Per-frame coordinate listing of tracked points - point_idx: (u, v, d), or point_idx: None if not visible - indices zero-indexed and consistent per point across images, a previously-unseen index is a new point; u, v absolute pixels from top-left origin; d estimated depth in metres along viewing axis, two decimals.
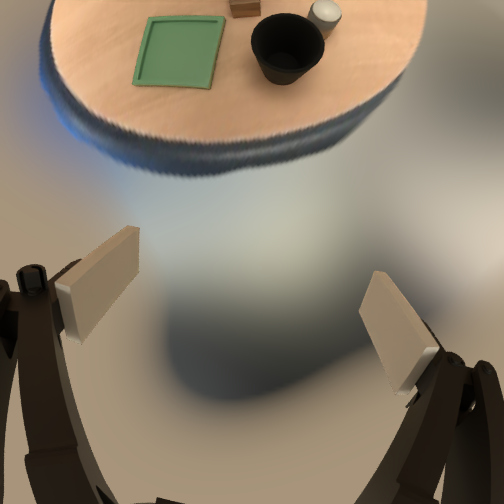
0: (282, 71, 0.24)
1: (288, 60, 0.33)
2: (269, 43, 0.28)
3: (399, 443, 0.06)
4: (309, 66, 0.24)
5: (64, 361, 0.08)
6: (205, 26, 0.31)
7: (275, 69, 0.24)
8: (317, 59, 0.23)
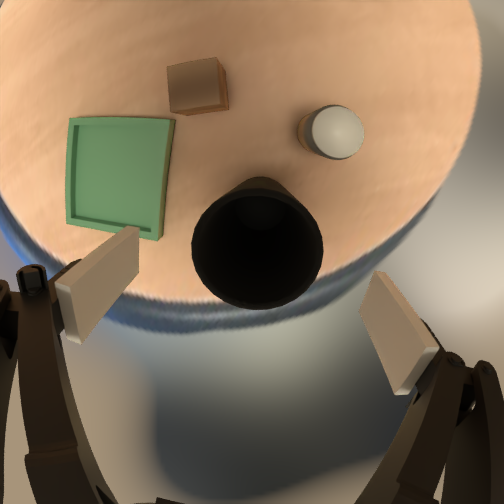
0: (246, 307, 0.18)
1: None
2: None
3: (399, 443, 0.06)
4: (291, 299, 0.17)
5: (64, 361, 0.08)
6: (145, 134, 0.24)
7: (234, 305, 0.18)
8: (306, 286, 0.17)
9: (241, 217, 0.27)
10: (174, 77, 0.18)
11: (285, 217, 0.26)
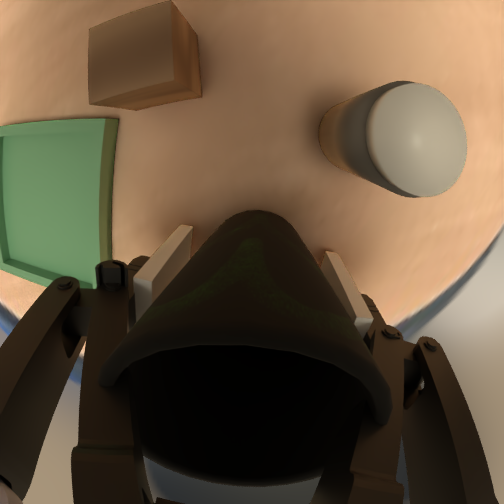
0: (225, 483, 0.07)
1: None
2: None
3: (346, 426, 0.07)
4: (307, 478, 0.07)
5: None
6: (76, 144, 0.14)
7: (205, 480, 0.07)
8: None
9: None
10: (98, 44, 0.08)
11: None
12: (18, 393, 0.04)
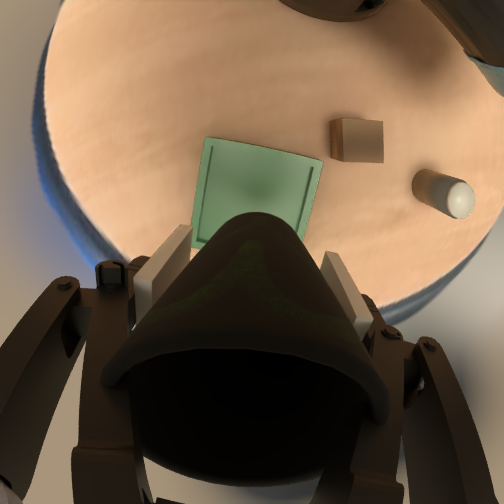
0: (225, 483, 0.07)
1: None
2: None
3: (346, 426, 0.07)
4: (307, 479, 0.07)
5: None
6: (293, 169, 0.28)
7: (205, 480, 0.07)
8: None
9: None
10: (348, 130, 0.22)
11: None
12: (18, 393, 0.04)
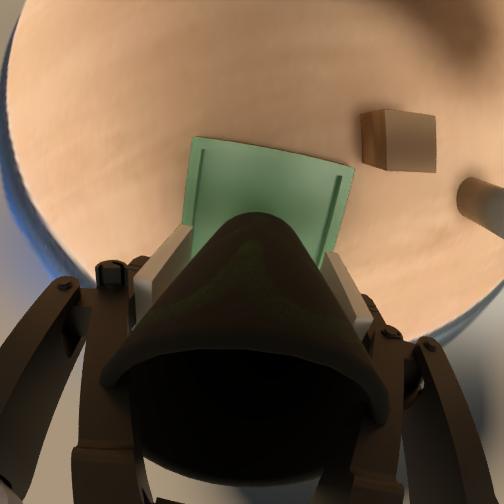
0: (225, 483, 0.07)
1: None
2: None
3: (346, 426, 0.07)
4: (306, 479, 0.07)
5: None
6: (313, 178, 0.21)
7: (205, 480, 0.07)
8: None
9: None
10: (393, 127, 0.15)
11: None
12: (18, 393, 0.04)
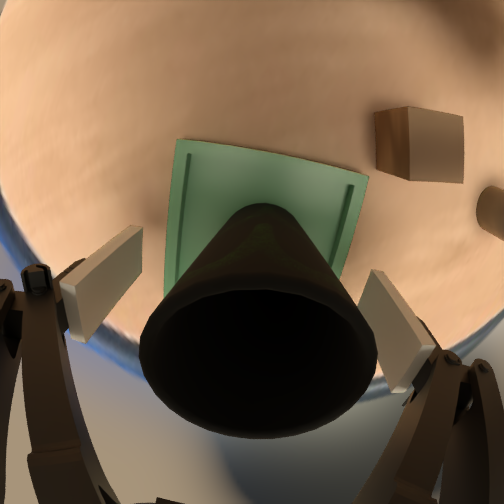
0: (239, 436, 0.10)
1: None
2: None
3: (396, 442, 0.06)
4: (310, 429, 0.09)
5: (68, 361, 0.08)
6: (320, 188, 0.18)
7: (221, 433, 0.10)
8: (337, 415, 0.09)
9: None
10: (417, 128, 0.12)
11: None
12: None
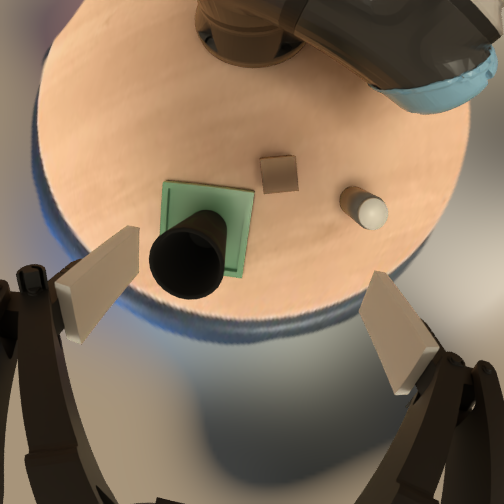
0: (183, 298, 0.28)
1: None
2: None
3: (399, 443, 0.06)
4: (209, 292, 0.28)
5: (64, 361, 0.08)
6: (232, 200, 0.37)
7: (177, 296, 0.28)
8: (217, 284, 0.28)
9: (193, 238, 0.38)
10: (266, 168, 0.31)
11: None
12: None
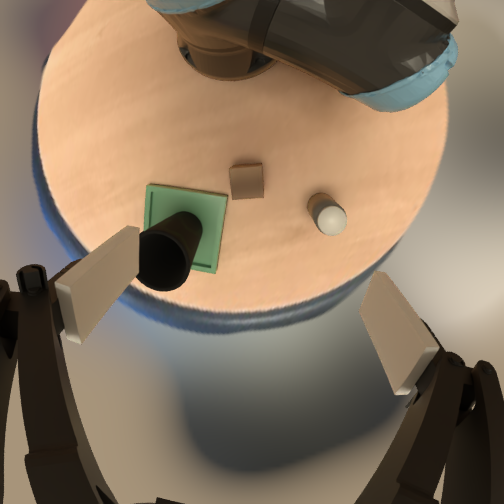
0: None
1: None
2: None
3: (399, 443, 0.06)
4: (177, 286, 0.32)
5: (64, 361, 0.08)
6: (207, 203, 0.40)
7: (151, 288, 0.32)
8: (184, 279, 0.31)
9: None
10: (234, 177, 0.34)
11: None
12: None
